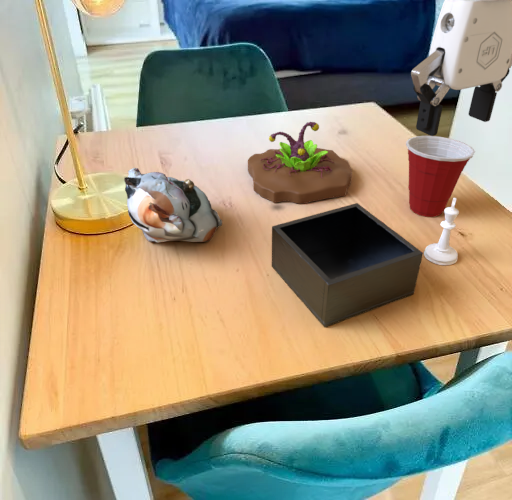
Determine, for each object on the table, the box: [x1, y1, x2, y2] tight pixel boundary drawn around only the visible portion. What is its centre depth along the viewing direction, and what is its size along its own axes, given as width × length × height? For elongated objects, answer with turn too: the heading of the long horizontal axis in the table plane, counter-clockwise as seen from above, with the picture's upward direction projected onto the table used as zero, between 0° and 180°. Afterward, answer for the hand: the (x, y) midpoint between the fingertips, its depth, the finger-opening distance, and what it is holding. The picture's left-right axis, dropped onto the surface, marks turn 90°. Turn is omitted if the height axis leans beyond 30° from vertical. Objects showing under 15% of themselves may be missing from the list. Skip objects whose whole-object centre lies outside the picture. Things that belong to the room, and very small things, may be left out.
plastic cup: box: [405, 135, 476, 218], centre depth 86 cm, size 11×11×12 cm
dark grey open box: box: [271, 202, 424, 328], centre depth 71 cm, size 15×15×7 cm
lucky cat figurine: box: [123, 167, 223, 244], centre depth 79 cm, size 15×12×14 cm
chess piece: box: [423, 197, 460, 266], centre depth 74 cm, size 5×5×10 cm
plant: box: [247, 121, 353, 204], centre depth 95 cm, size 20×20×11 cm
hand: (452, 125), depth 68 cm, fingers open, 9 cm apart
